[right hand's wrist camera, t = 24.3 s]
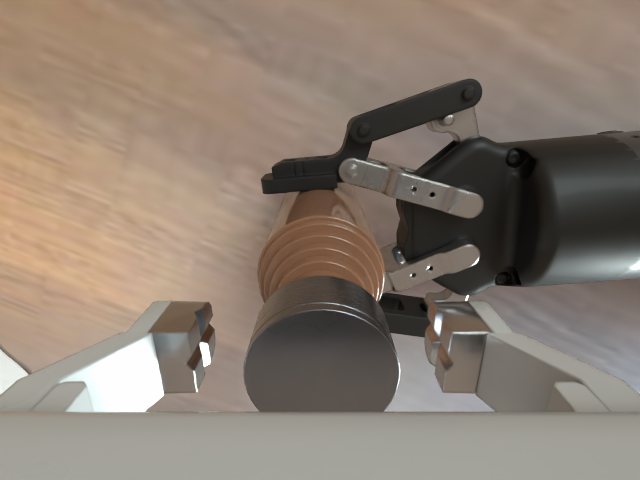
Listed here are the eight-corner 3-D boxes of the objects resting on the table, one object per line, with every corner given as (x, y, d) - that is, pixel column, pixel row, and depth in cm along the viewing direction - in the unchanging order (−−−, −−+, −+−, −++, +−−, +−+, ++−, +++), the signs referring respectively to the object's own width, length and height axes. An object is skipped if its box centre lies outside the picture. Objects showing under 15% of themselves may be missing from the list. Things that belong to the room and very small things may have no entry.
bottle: (369, 197, 25) (457, 351, 9) (324, 245, 26) (329, 457, 10) (317, 151, 24) (310, 230, 8) (273, 203, 25) (188, 366, 9)
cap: (402, 363, 10) (418, 413, 9) (286, 399, 11) (280, 452, 9) (362, 255, 9) (371, 287, 7) (233, 300, 10) (215, 339, 8)
